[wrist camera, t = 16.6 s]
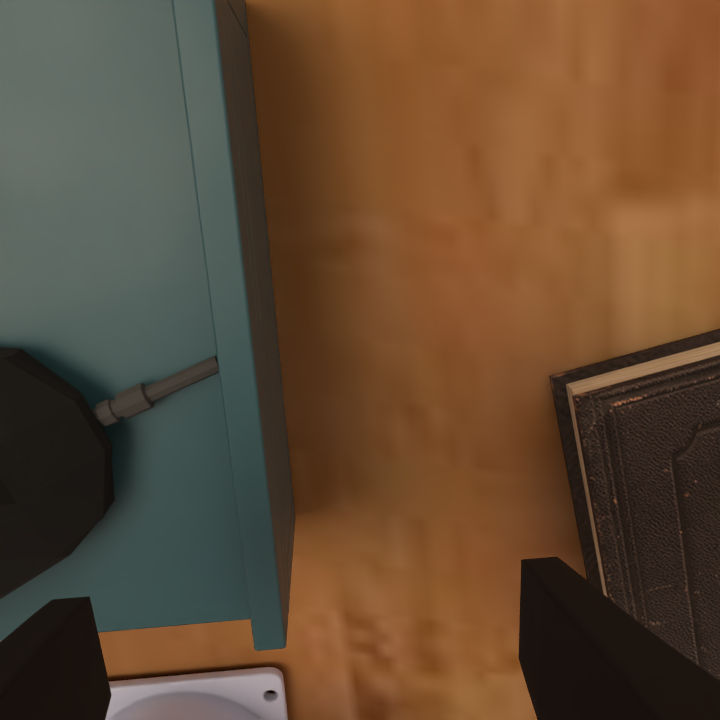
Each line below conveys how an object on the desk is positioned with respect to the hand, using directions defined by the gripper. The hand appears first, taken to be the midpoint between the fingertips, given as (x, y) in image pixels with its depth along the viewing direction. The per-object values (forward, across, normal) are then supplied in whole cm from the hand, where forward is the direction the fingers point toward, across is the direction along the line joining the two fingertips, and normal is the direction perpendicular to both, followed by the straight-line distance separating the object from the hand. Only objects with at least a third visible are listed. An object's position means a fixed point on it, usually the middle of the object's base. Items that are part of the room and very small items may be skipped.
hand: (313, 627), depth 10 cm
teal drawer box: (+10, +7, -4) cm, 13 cm away
